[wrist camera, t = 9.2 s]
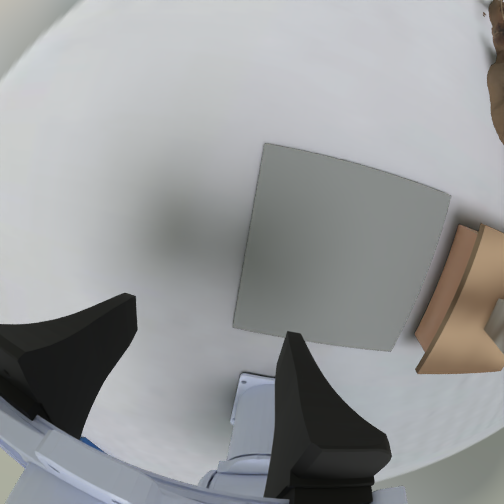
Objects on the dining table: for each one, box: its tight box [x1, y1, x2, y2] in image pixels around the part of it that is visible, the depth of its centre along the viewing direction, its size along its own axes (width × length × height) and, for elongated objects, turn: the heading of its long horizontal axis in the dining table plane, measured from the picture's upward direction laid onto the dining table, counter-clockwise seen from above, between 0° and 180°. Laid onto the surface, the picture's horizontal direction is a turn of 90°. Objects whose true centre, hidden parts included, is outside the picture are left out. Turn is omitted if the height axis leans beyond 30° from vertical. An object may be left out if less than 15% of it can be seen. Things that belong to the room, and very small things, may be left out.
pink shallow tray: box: [415, 224, 478, 352], centre depth 18 cm, size 11×11×4 cm
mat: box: [233, 143, 451, 352], centre depth 20 cm, size 15×15×1 cm
